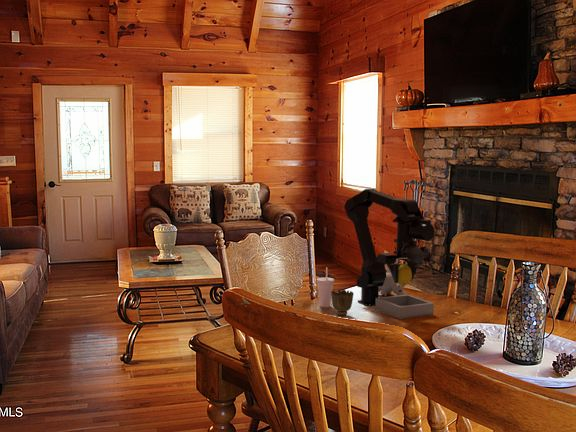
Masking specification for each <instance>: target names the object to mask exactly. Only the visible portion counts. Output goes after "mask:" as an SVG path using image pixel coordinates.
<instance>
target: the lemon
mask: <svg viewBox="0 0 576 432" xmlns="http://www.w3.org/2000/svg"><path fill="white" fill-rule="evenodd" d="M411 279H412V272H411V269H410V268H409V267H408V266H407V264H405V263H402V264H401V265H400V267H399V269H398V282H397V283H398V284H400V285H401V286H402V287H403V288H404V287H406V286H407V285H409V284H410V283H411V282H410V281H411ZM412 280H413V279H412Z"/></svg>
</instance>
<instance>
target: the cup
mask: <svg viewBox="0 0 576 432" xmlns="http://www.w3.org/2000/svg"><path fill="white" fill-rule="evenodd" d="M354 293H355V292H353V291H352V290H349V289H348V290H347V291H346V289H342V290H341V289H338V290H337V291H336V290H332V292H331V295H332V296H331V303H332V307H333V309H334V310H335V311H336V315H337V316H339V317H346V316H348V311H349V310H351V308H352V306H353V301H354V299H353V298H354Z"/></svg>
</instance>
